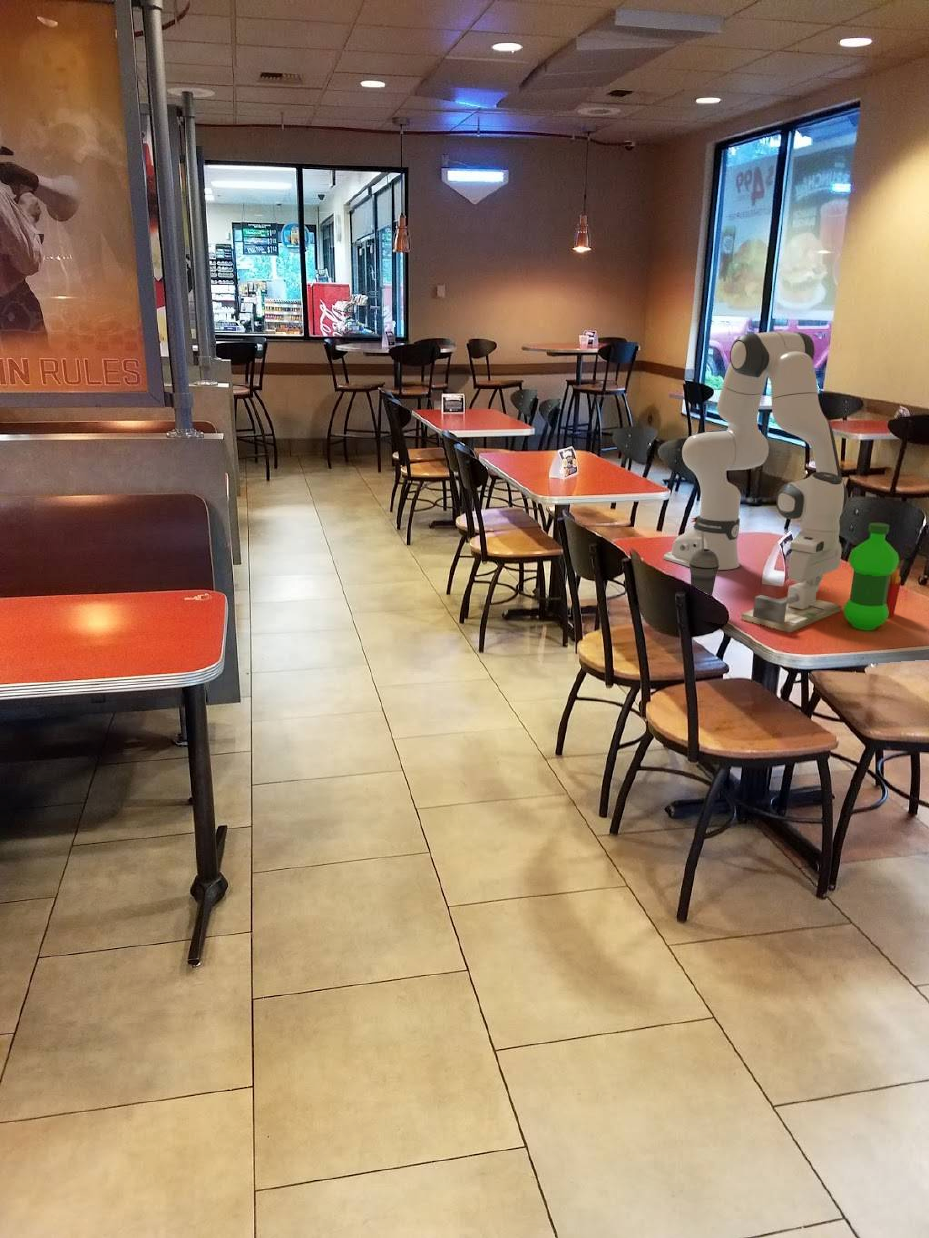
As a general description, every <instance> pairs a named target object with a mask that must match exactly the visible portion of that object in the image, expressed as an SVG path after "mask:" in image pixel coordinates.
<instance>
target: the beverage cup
mask: <svg viewBox="0 0 929 1238" xmlns="http://www.w3.org/2000/svg"><path fill="white" fill-rule="evenodd" d="M689 565H690V567H689V573H690V586H691V585H693V586H694V587H697V588H698V589H700V590H702V591H703V592H705V593H707V594H709V595H712V596H713V593H714V592H713V591H714V587H715V582H716V578H717V574H718V571H719V570H718V567H719V562H718V558H717V556H716V554H715V553H714V552H713V551H711V550H709V549H704V531H702V549H700V550H698V551H696V552H695V553H694V554H693V556H692V557H691V560H690V563H689Z"/></svg>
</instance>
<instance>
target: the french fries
mask: <svg viewBox="0 0 929 1238" xmlns="http://www.w3.org/2000/svg"><path fill="white" fill-rule="evenodd" d="M900 572H901V571H900V570H898V569H896V570H895V571H894V572H892V573H891V574H890V581H889V587H888V593H887V599H886V604H887V607H888V610H889V615H888V618H892V617H894V615H895V612H896V606H897V602H898V596H899V593H900V587H901V583H902V582H901V579H902V577H901V575H900Z"/></svg>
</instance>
